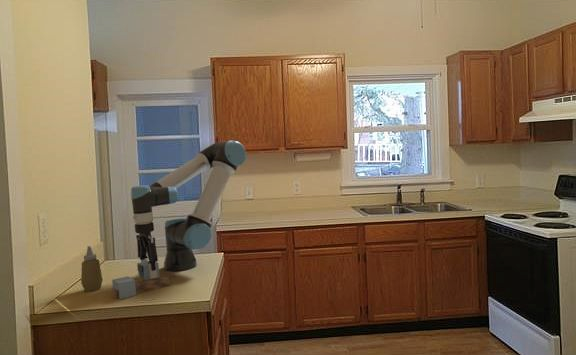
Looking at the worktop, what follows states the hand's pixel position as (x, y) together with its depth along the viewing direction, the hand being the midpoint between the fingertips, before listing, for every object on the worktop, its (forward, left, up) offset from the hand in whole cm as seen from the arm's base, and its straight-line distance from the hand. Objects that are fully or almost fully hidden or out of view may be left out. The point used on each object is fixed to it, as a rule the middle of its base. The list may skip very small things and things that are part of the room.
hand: (149, 276), depth 193 cm
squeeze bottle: (+21, -8, -3) cm, 22 cm away
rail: (+8, +11, -3) cm, 14 cm away
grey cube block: (0, 0, 0) cm, 1 cm away
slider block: (+15, +11, -2) cm, 19 cm away
